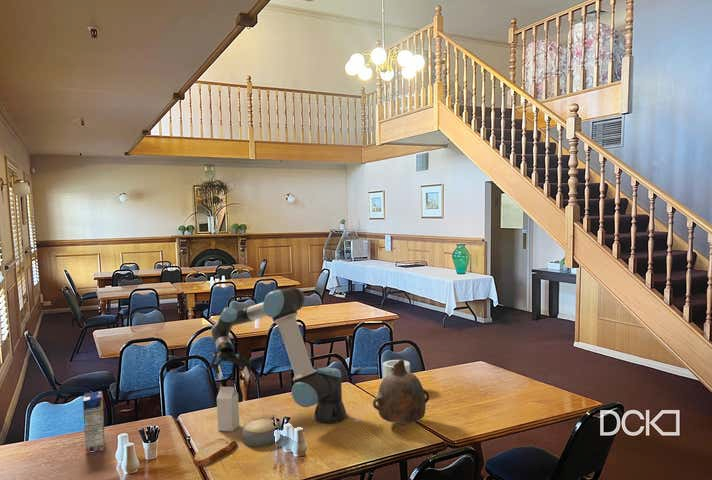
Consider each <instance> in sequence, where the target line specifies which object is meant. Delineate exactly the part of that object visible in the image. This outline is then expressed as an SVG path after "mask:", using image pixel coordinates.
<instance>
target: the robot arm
mask: <svg viewBox="0 0 712 480" xmlns="http://www.w3.org/2000/svg"><path fill="white" fill-rule="evenodd" d="M305 303H306V295H305V294H304V292H303V291H302V290H301V289H300V288H298V287H288V288H281V289H280V288H279V289H276V290H273V291H270V292H268V293H267V294H266V295H265V297H264V299H263V302H260V303H257V304H254V305H251V306H248V307H243V308H241V309H236V308H234V307H229V306H227V307H224V308H223V309H222V312H221V313H220V316H219V319H218V321H217V323H215V324H214V325H213V326H212V327H211V330H210V331H211V336H212V339H213V341H214V344H215V347H216V350H217V351H214V353H213V354H212V355H213V356H212V360H211V364H210V366H209V369H212V370H213V371H214V372H215V374H217V377H218V380H219V381H222V378H223V376H224V375H223V372H222V369H221V364H223V363H224V362H225V363H233V364H235V365H237V366H238V367H239V368H241V369H242V371H243V374H244V377H245V380H246V381H249V379H250V376H251V375H250V372H251V371H250V369H251V366H252V364H251V363H250V362H249V361H248V360H247V359H246V358H245V357H244V356H243V355H242V353H241V352H238V353H235V349H234V346H233V344H232V341H231V338H230V336H229V335H230V333H231V330H232V328H233V326H238V325H241V324H246V323H247V324H248V323H251V322H255V321H256V320H259V319H263V318H266V317H270V318H272V321H273V323H274V324H276V325H277V326H278V328H279V332H280V335H281V338H282V342H283V344H284V346H285V347H284V348H285V350H286V353H287V355H288V359H289V361H290V364H291V367H292V371H293V374H294V377H293V378H292V382H293V385H292V388H291V396H292V399H293V401H294V402H295V403H296V404H297V405H298V406H300V407H302V408H309V407H313V406H315V405H316V407H315V410H314V413H313V414H314V415H313V418H314V421H315V422H318V423H322V424H333V423H339V422H342V421H344V420H345V419H346V418H347V411H346V408H345V405H344V402H343V394H342V393H343V391H342V390H343V389H342V372H341V370H340V369H339V368H335V367H319V368H317V369H316V368H313V366H312V362H311V358H310V356H309V354H308V351H307V348H306V347H307V346H306V345H305V342H304V339H303V336H302V333H301V330H300V326H299V324H298V321H297V316H298V311H300V310H301V309H302V308H303V307H304V305H305ZM217 358H220V359H219V360H218V361H217V362H216V360H217ZM215 362H216V363H215Z"/></svg>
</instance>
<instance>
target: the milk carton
mask: <svg viewBox="0 0 712 480" xmlns="http://www.w3.org/2000/svg"><path fill="white" fill-rule="evenodd" d="M216 413H217V430H218V432H231V431H232V432H234V431H235V430H236V429H237V428H238V427H240V409H239V393H238V392H237V391H236V389H235V387H234V386H219V391H218V394H217V396H216Z"/></svg>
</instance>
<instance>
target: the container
mask: <svg viewBox="0 0 712 480" xmlns="http://www.w3.org/2000/svg"><path fill="white" fill-rule="evenodd" d="M399 360H400V359H392V360H391V359H390V360H386V361H384V362H382V377H383V378H382V380H383V379H384V377H385V376H386V375H387V374H389V373H391V369H392V368H393V367H394V364H395V363H397V362H398V361H399ZM404 365H405V369H406V371H409V372H411V363H410V361H408V360H404Z"/></svg>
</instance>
